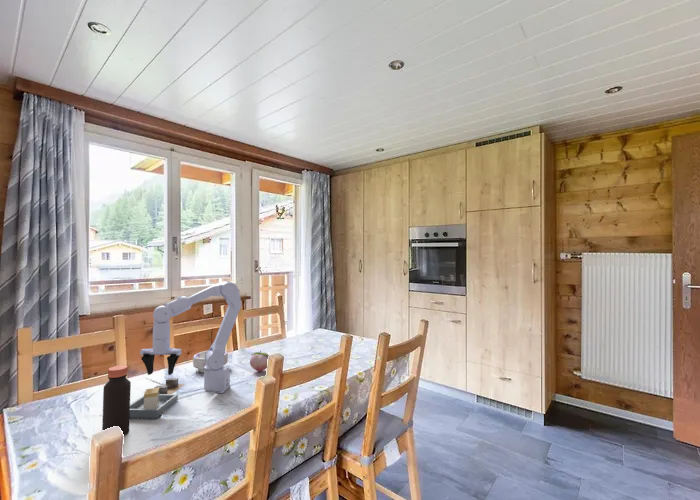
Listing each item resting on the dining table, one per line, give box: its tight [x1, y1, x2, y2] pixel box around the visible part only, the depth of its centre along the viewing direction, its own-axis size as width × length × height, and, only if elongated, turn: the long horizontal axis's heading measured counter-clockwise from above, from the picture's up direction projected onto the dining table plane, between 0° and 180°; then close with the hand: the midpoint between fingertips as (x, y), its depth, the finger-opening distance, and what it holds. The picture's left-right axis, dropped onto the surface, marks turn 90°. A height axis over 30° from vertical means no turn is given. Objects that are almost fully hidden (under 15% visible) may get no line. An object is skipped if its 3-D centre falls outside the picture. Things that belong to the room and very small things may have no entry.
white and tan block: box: [143, 387, 160, 409], centre depth 117 cm, size 4×5×6 cm
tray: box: [130, 393, 179, 420], centre depth 116 cm, size 12×13×3 cm
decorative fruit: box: [249, 350, 270, 373], centre depth 157 cm, size 9×8×10 cm
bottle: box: [101, 364, 132, 437], centre depth 100 cm, size 7×7×20 cm
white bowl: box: [192, 350, 229, 374], centre depth 158 cm, size 15×15×8 cm
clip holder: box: [153, 377, 185, 394], centre depth 131 cm, size 8×13×4 cm, turn 0°
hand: (160, 374), depth 126 cm, fingers open, 7 cm apart
